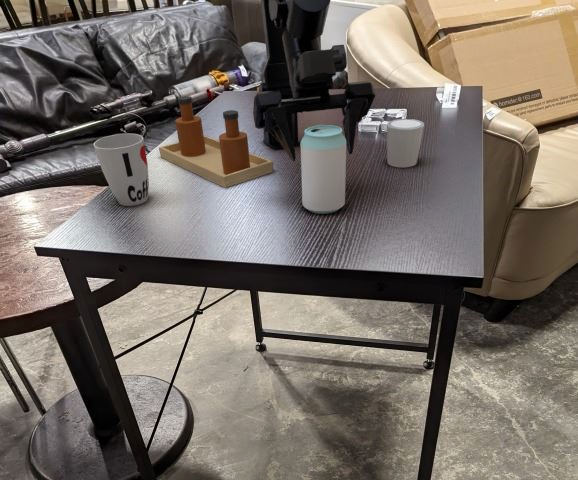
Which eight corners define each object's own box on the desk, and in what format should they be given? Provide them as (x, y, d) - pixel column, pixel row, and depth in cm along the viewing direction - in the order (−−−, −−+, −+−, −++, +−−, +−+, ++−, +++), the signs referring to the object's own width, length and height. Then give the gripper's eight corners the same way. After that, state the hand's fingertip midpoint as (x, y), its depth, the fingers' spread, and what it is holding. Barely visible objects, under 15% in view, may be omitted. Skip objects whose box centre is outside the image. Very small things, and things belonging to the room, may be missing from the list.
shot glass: (398, 154, 105) (401, 116, 100) (427, 161, 101) (432, 122, 96) (376, 163, 101) (379, 124, 97) (406, 171, 98) (410, 131, 93)
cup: (133, 212, 89) (117, 151, 82) (100, 204, 93) (82, 145, 86) (165, 195, 94) (153, 136, 88) (133, 188, 98) (118, 131, 91)
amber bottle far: (201, 147, 113) (192, 93, 106) (209, 153, 109) (201, 98, 102) (177, 151, 111) (168, 97, 104) (185, 158, 107) (175, 102, 100)
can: (300, 215, 85) (297, 137, 77) (304, 198, 90) (302, 123, 82) (344, 215, 84) (346, 136, 76) (345, 198, 89) (347, 122, 82)
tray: (160, 157, 110) (158, 147, 109) (205, 144, 115) (204, 134, 114) (225, 188, 96) (223, 177, 94) (273, 171, 101) (272, 161, 99)
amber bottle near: (244, 164, 103) (238, 106, 96) (254, 172, 99) (249, 113, 92) (219, 170, 101) (211, 111, 94) (229, 178, 98) (222, 118, 91)
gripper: (248, 29, 74) (268, 134, 73) (375, 18, 76) (395, 119, 75) (246, 80, 85) (263, 172, 84) (356, 69, 87) (374, 159, 86)
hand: (322, 156), depth 82 cm, fingers open, 9 cm apart
